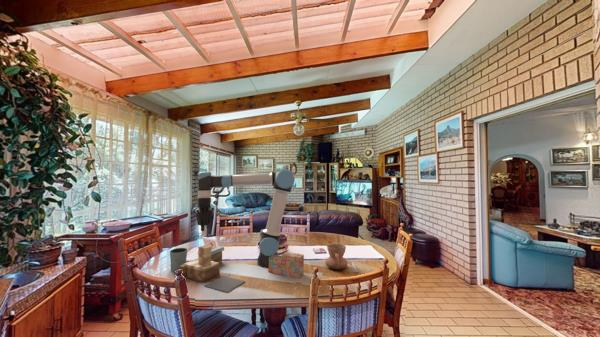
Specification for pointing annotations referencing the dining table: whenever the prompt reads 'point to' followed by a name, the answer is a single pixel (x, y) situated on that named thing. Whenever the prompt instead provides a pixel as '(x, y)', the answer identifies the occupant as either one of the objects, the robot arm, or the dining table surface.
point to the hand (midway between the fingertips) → (204, 236)
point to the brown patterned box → (287, 264)
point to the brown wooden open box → (203, 275)
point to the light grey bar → (217, 250)
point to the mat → (225, 284)
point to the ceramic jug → (336, 256)
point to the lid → (202, 260)
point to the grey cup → (177, 258)
